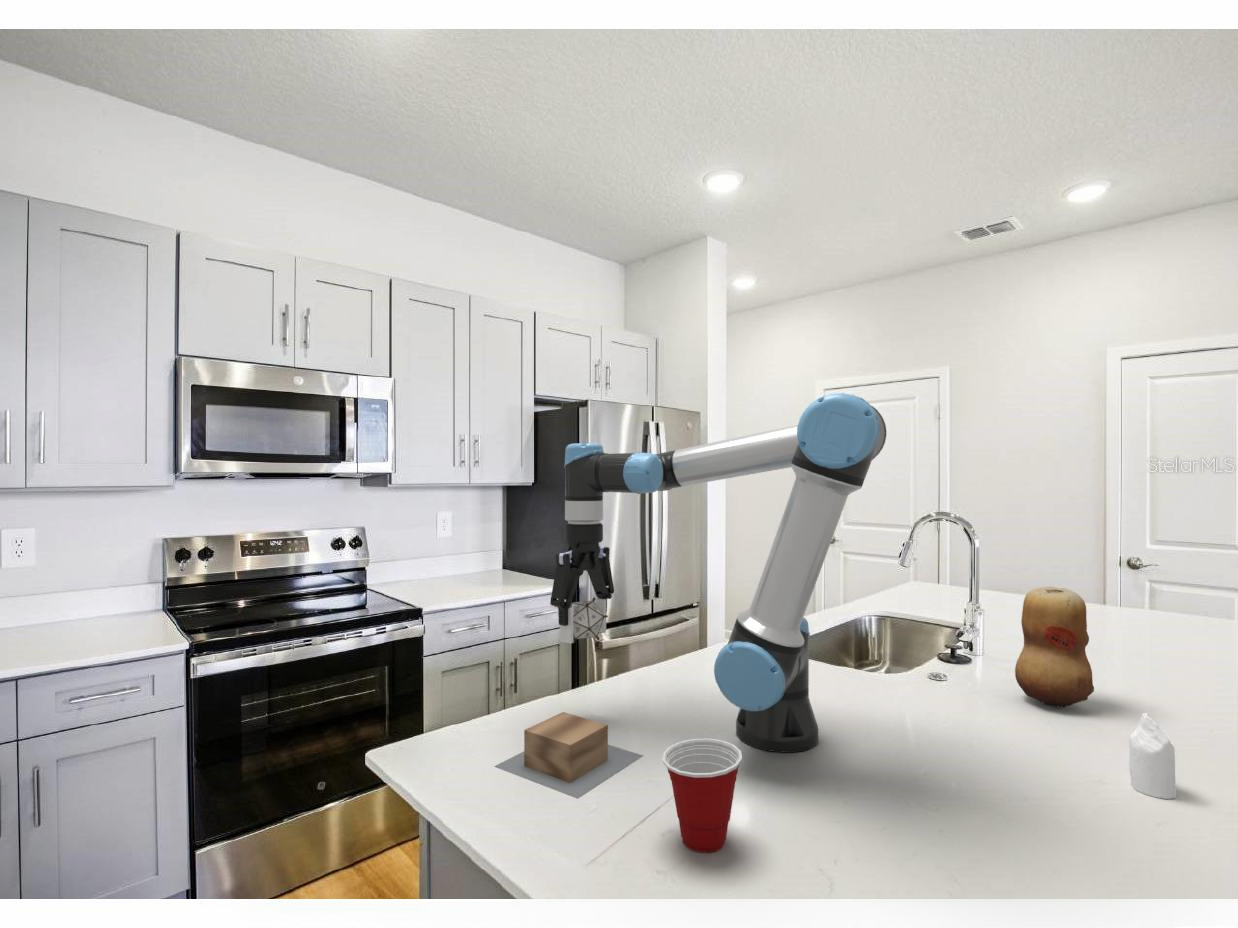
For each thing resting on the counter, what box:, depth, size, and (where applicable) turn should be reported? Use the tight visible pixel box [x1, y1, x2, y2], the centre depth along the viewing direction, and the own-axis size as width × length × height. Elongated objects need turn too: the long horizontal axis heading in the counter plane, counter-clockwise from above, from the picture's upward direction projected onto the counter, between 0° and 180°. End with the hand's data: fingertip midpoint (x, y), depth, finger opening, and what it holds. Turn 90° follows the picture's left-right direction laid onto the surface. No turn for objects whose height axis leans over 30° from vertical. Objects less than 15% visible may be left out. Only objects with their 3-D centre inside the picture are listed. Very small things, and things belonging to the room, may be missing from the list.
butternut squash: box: [1014, 586, 1095, 709], centre depth 139 cm, size 14×13×25 cm
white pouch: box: [1128, 712, 1177, 800], centre depth 103 cm, size 6×12×6 cm
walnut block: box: [523, 711, 609, 783], centre depth 110 cm, size 10×10×6 cm
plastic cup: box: [661, 737, 743, 854], centre depth 88 cm, size 11×11×12 cm
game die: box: [570, 596, 609, 644], centre depth 128 cm, size 9×8×10 cm
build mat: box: [494, 744, 644, 799], centre depth 111 cm, size 18×18×1 cm
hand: (583, 636), depth 127 cm, fingers closed on game die, 9 cm apart
